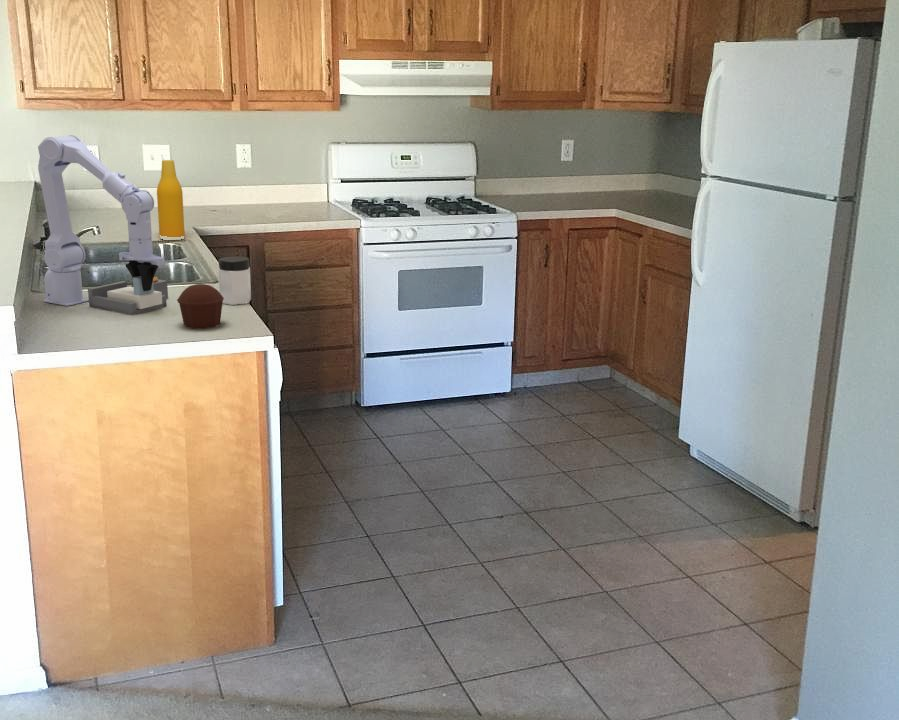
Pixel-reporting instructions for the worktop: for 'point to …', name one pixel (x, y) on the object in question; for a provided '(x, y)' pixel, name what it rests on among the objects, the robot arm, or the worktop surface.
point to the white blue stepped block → (137, 294)
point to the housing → (102, 301)
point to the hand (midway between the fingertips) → (143, 289)
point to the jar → (234, 280)
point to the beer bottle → (170, 202)
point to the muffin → (201, 306)
